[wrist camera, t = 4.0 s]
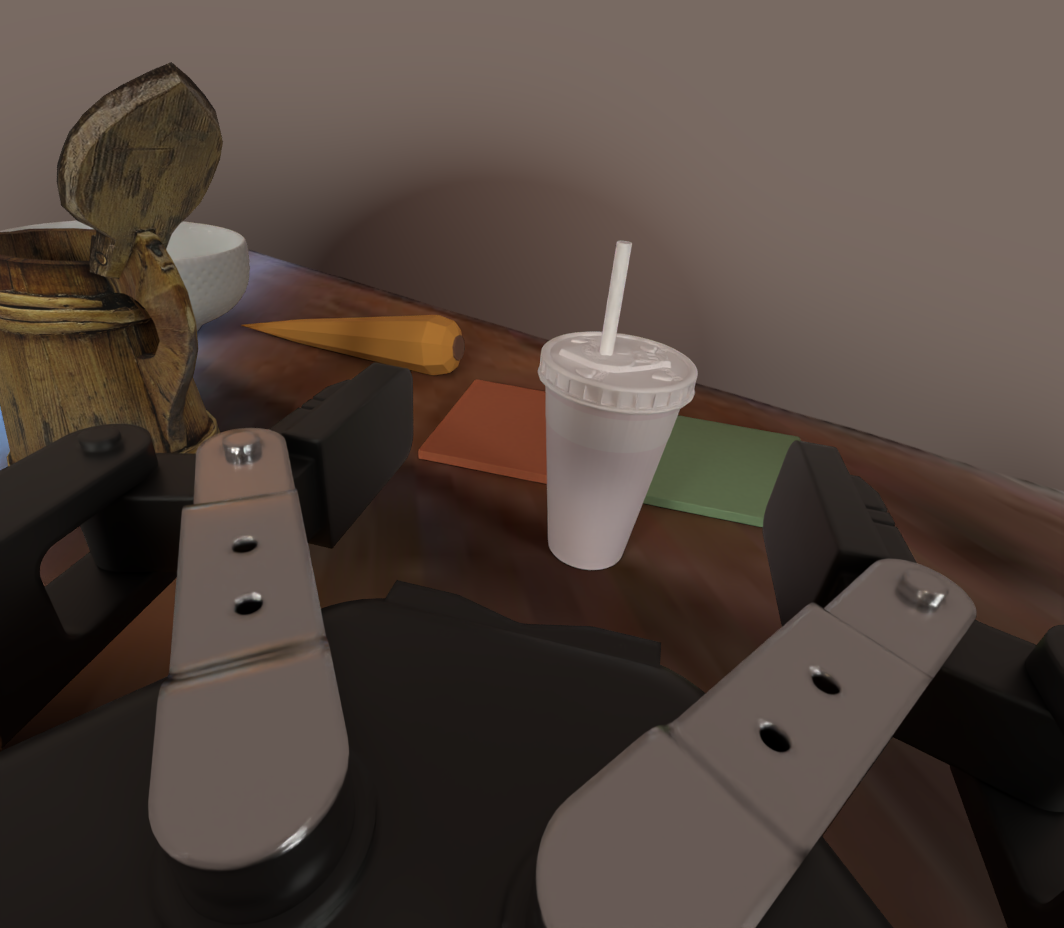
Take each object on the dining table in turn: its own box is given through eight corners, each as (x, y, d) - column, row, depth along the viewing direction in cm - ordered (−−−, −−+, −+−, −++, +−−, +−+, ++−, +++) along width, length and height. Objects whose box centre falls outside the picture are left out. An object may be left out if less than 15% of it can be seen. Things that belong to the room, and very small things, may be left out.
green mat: (796, 444, 39) (799, 436, 39) (832, 541, 30) (836, 532, 30) (636, 415, 41) (638, 407, 41) (623, 499, 32) (625, 490, 31)
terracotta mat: (622, 413, 41) (624, 405, 41) (605, 496, 32) (607, 487, 32) (475, 386, 43) (475, 379, 42) (418, 458, 33) (417, 449, 33)
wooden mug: (181, 573, 24) (21, 43, 15) (-30, 482, 28) (-265, 14, 18) (324, 473, 31) (278, 75, 22) (141, 411, 35) (35, 49, 26)
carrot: (468, 379, 45) (474, 321, 45) (443, 377, 41) (449, 312, 40) (258, 354, 51) (261, 301, 50) (217, 350, 46) (219, 292, 46)
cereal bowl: (236, 292, 56) (222, 214, 52) (283, 351, 45) (270, 257, 41) (10, 308, 47) (-25, 216, 43) (-1, 387, 36) (-50, 271, 32)
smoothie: (521, 500, 31) (549, 220, 23) (640, 510, 31) (704, 236, 24) (518, 585, 25) (554, 254, 18) (662, 596, 26) (755, 273, 18)
